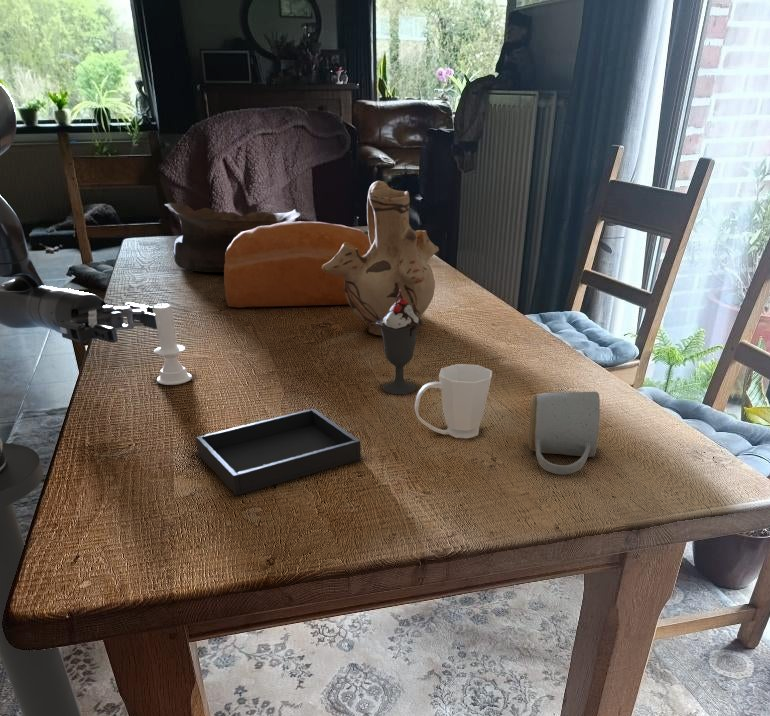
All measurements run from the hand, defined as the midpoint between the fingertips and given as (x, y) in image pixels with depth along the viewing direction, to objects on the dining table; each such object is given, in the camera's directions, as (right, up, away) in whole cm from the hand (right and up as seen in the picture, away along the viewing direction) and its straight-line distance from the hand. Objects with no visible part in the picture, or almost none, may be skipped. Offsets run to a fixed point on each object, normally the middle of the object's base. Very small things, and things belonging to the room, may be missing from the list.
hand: (137, 328), depth 110 cm
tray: (+26, -22, -23) cm, 41 cm away
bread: (+21, +17, +41) cm, 50 cm away
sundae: (+41, -10, -4) cm, 42 cm away
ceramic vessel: (+39, +4, +21) cm, 44 cm away
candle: (+6, -8, 0) cm, 10 cm away
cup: (+47, -18, -18) cm, 54 cm away
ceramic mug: (+60, -22, -24) cm, 68 cm away
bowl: (+1, +35, +72) cm, 80 cm away
